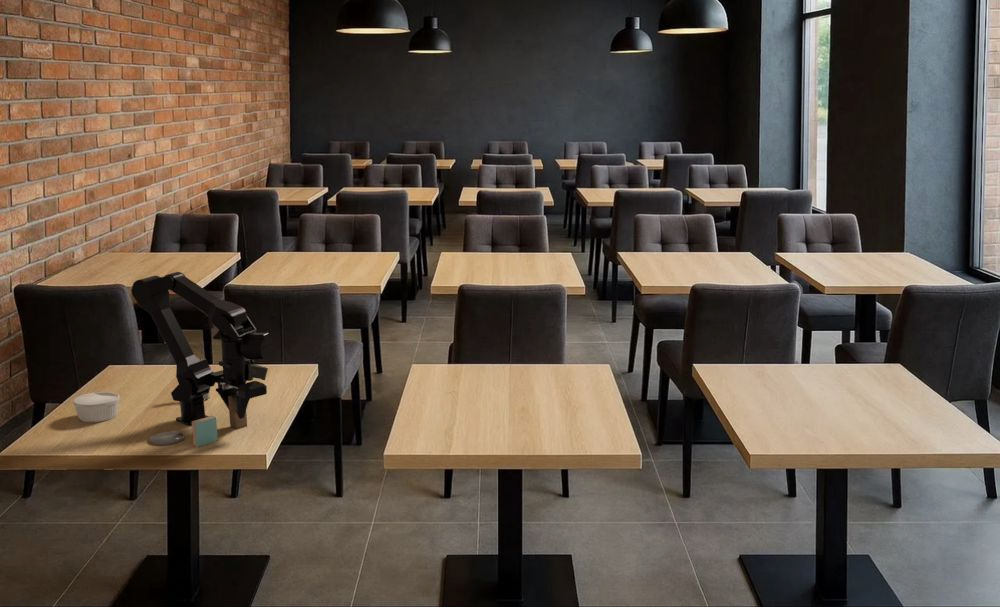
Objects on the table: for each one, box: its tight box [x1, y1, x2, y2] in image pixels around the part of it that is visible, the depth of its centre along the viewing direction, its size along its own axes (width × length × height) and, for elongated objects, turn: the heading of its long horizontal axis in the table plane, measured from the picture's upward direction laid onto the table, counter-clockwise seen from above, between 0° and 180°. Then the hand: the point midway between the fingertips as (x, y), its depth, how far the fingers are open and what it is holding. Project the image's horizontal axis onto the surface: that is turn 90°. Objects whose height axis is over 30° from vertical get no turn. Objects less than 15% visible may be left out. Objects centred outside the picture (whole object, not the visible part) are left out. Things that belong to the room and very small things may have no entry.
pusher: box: [228, 396, 248, 430], centre depth 261 cm, size 3×3×8 cm
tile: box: [191, 415, 219, 448], centre depth 250 cm, size 2×6×6 cm, turn 137°
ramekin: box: [72, 391, 121, 423], centre depth 269 cm, size 11×11×5 cm
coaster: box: [149, 431, 185, 446], centre depth 253 cm, size 8×8×1 cm
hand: (238, 416), depth 261 cm, fingers closed on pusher, 3 cm apart
